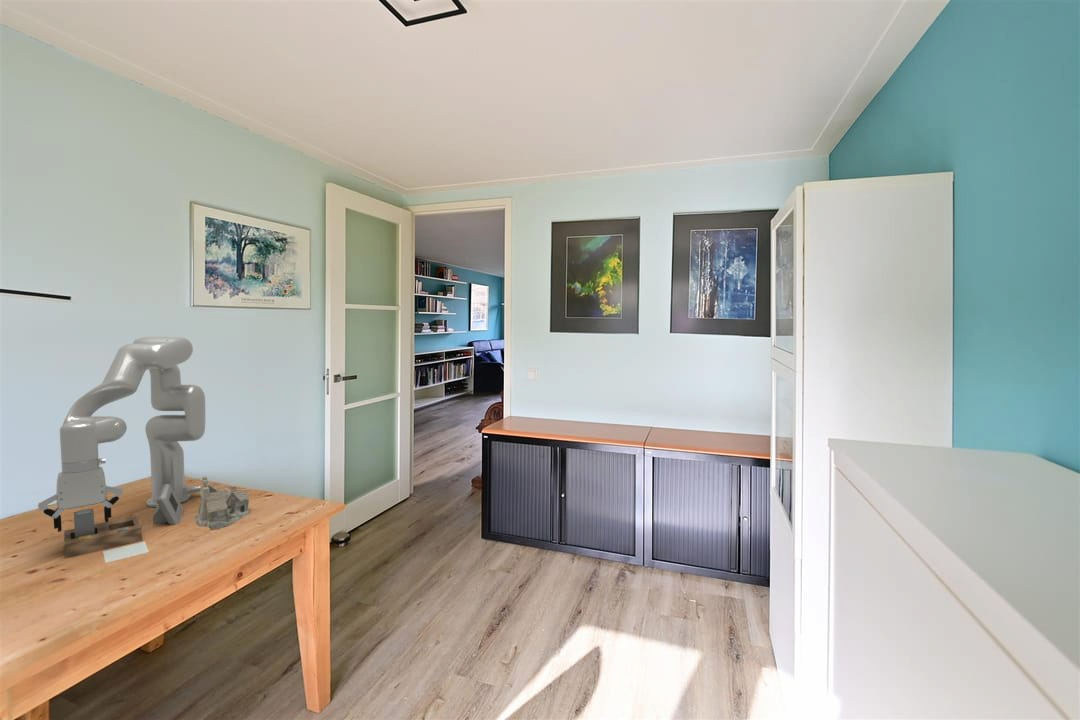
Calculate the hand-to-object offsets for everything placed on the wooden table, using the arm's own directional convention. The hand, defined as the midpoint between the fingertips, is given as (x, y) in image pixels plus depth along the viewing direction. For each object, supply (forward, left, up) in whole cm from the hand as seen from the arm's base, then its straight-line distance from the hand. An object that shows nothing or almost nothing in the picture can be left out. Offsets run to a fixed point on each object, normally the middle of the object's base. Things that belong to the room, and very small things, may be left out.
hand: (83, 525), depth 135 cm
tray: (-8, +12, -7) cm, 16 cm away
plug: (0, 0, -6) cm, 6 cm away
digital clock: (-21, -9, -8) cm, 24 cm away
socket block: (-4, 0, -7) cm, 8 cm away
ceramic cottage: (-33, +1, -8) cm, 34 cm away
